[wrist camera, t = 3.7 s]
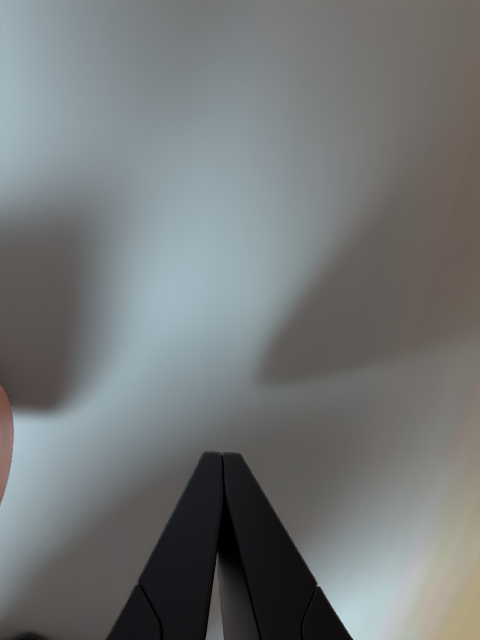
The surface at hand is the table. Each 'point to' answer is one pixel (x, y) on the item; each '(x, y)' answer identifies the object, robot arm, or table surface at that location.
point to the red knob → (5, 440)
